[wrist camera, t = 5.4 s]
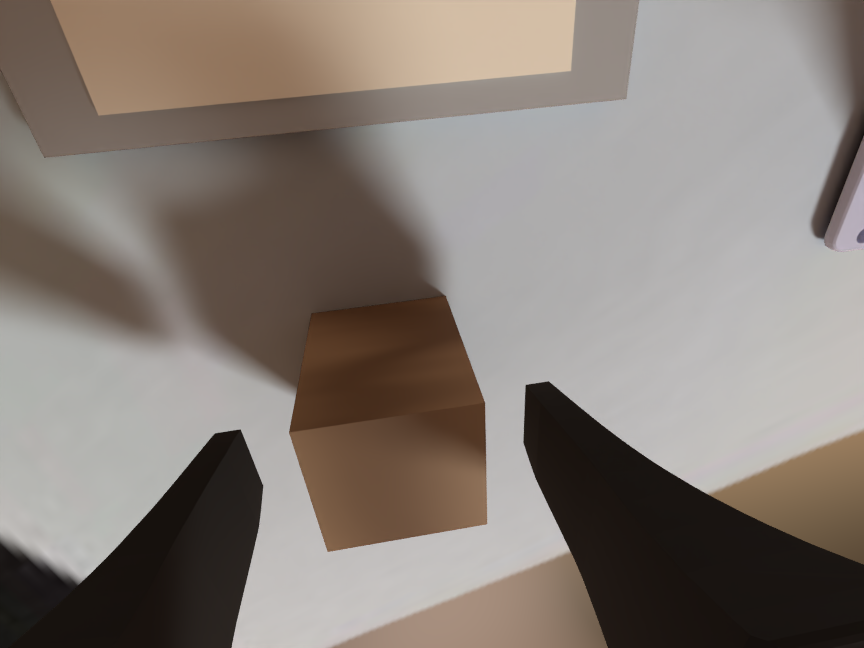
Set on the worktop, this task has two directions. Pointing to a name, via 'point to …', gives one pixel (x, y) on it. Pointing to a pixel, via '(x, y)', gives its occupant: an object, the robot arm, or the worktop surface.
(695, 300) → the worktop surface
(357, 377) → the walnut block
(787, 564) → the robot arm
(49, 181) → the worktop surface
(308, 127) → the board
